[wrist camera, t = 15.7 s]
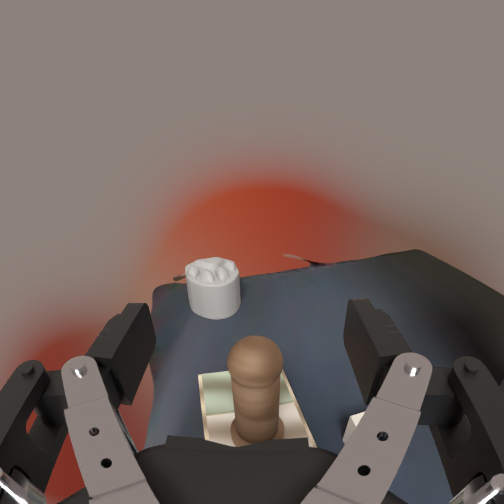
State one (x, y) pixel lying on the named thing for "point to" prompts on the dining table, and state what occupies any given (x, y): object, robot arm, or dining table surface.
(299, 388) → the dining table surface
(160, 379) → the dining table surface
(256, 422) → the pawn
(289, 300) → the dining table surface
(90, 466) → the robot arm
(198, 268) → the lumpy-topped squat cylinder
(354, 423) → the die
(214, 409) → the game board
